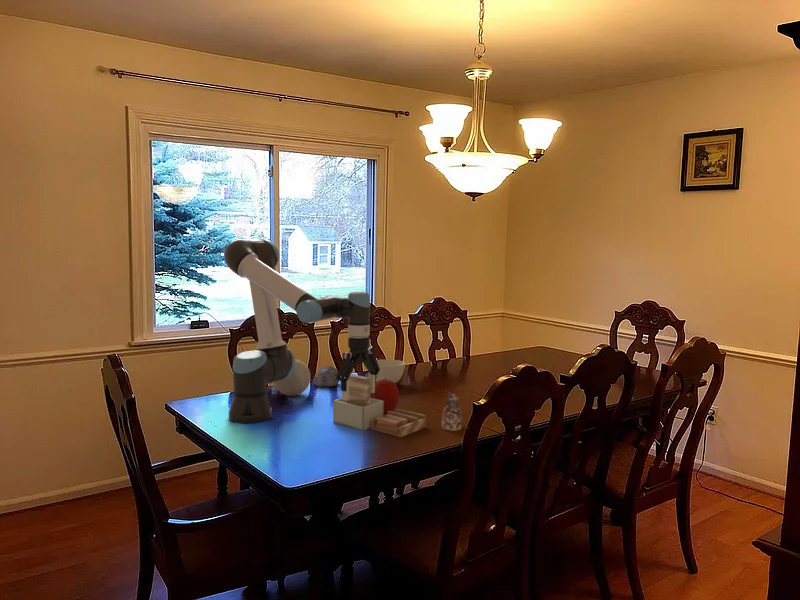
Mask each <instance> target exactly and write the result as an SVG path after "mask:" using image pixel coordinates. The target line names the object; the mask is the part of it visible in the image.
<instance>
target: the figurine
mask: <svg viewBox="0 0 800 600" xmlns="http://www.w3.org/2000/svg"><path fill="white" fill-rule="evenodd" d="M447 395H448V397H447V399H446V406H445V407H444V408H443V412H442V418H441V428H442V429H443V430H445V431H447V430H448V431H453V432H454V431H459V430H462V429H463V418H462V415H463V413H462V409H461V407H460V397H459V396H458V395H457V394H456V393H452V392H451V391H449V392H448V393H447Z"/></svg>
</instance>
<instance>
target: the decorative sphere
mask: <svg viewBox="0 0 800 600" xmlns="http://www.w3.org/2000/svg"><path fill="white" fill-rule="evenodd" d="M310 382H311V372H310V368H309V367H308V366H307V365H306V363H305V362H303V361H302V360H299V359H296V358H295V368H294V370H293V372H292V373H291V375H289V376H288V377H286V378H284V379H282V380H279V381H275V382H273V384H274V386H275V388H276V389H277V391H279V393H281V394H282V395H285V396H287V397H295V396H298V395H301V394H302V393H304V392H305V391H306V390H307V389H308V387H309V386H310Z"/></svg>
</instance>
